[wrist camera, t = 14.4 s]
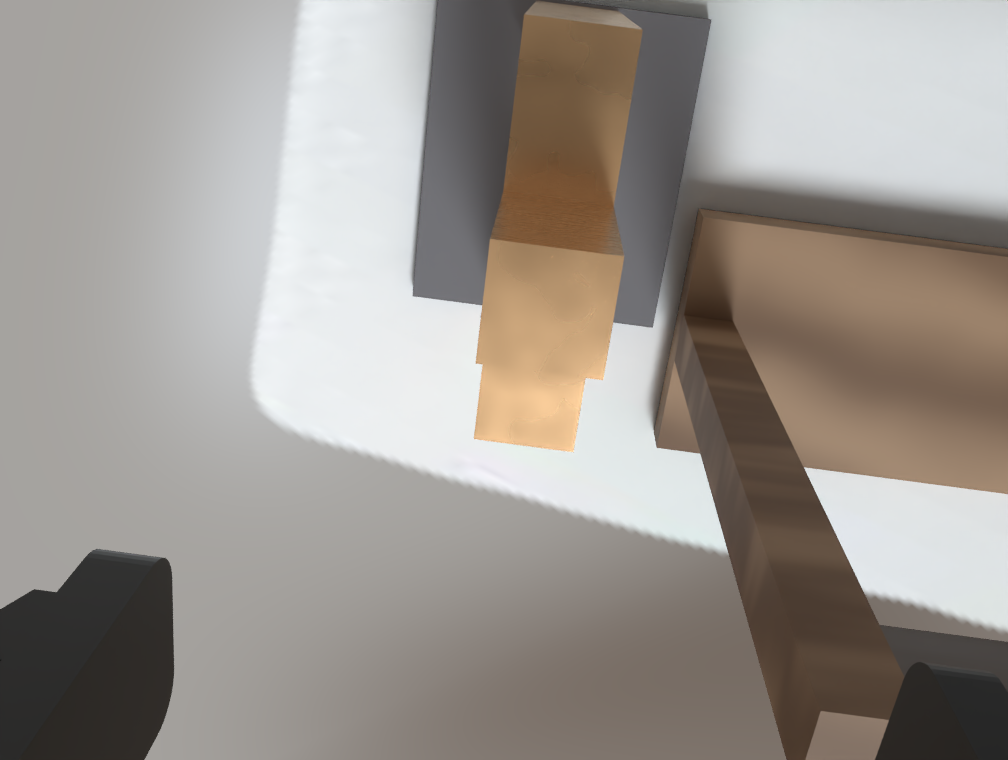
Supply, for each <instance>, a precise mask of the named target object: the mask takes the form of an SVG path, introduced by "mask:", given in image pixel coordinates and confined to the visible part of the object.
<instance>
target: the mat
mask: <svg viewBox="0 0 1008 760" xmlns="http://www.w3.org/2000/svg"><path fill="white" fill-rule="evenodd" d="M536 1H544V2H552V3H560V4H567V5H575V6H583V7H591V8H599V9H606V10H614V11H619V12H620V13H622V14H623V15H624V16H626V17H627V18H628V19H630V20H631V21H632V22H634V23H635V24H636V25H638V26H639V27H640V28H641V29H643V32H642V38H641V44H640V50H639V56H638V62H637V68H636V74H635V80H634V86H633V92H632V98H631V105H630V111H629V117H628V123H627V129H626V135H625V141H624V147H623V153H622V159H621V165H620V171H619V177H618V183H617V189H616V196H615V202H614V209H615V214H616V219H617V224H618V229H619V233H620V238H621V243H622V248H623V252H624V262H623V267H622V273H621V279H620V285H619V290H618V296H617V302H616V308H615V314H614V319H613V322H614V323H622V324H629V325H637V326H645V327H652V328H653V323H654V318H655V313H656V307H657V302H658V297H659V292H660V286H661V281H662V276H663V271H664V265H665V260H666V255H667V250H668V244H669V239H670V234H671V229H672V223H673V218H674V213H675V208H676V202H677V197H678V192H679V187H680V182H681V176H682V171H683V166H684V161H685V155H686V150H687V145H688V140H689V134H690V129H691V124H692V119H693V113H694V108H695V103H696V98H697V92H698V87H699V82H700V77H701V71H702V66H703V61H704V56H705V50H706V45H707V40H708V35H709V29H710V24H711V20H710V19H704V18H696V17H688V16H680V15H673V14H665V13H657V12H649V11H642V10H634V9H626V8H618V7H610V6H603V5H595V4H587V3H579V2H572V1H564V0H438V4H437V16H436V27H435V39H434V51H433V63H432V75H431V86H430V98H429V110H428V122H427V133H426V145H425V157H424V169H423V181H422V192H421V204H420V216H419V228H418V240H417V251H416V263H415V275H414V287H413V296H416V297H424V298H431V299H439V300H447V301H454V302H462V303H469V304H477V305H482V304H483V296H484V287H485V278H486V270H487V261H488V252H489V244H490V237H491V234H492V230H493V226H494V223H495V219H496V216H497V212H498V208H499V205H500V201H501V198H502V194H503V189H504V180H505V172H506V164H507V155H508V147H509V138H510V130H511V121H512V113H513V104H514V96H515V87H516V79H517V71H518V62H519V54H520V45H521V37H522V28H523V20H524V14H525V13H526V12H527V11H528V10H529V8H530V7H531V6H532V5H533V4H534V3H535V2H536Z"/></svg>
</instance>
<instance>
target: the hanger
mask: <svg viewBox="0 0 1008 760" xmlns="http://www.w3.org/2000/svg"><path fill="white" fill-rule="evenodd" d="M642 32H643V29H641V28H640V27H639V26H638V25H636V24H635V23H634V22H632V21H631V20H630V19H628V18H627V17H626V16H624V15H623V14H622V13H620V12H619V11H614V10H606V9H599V8H591V7H583V6H575V5H567V4H560V3H552V2H544V1H536V2H535V3H534V4H533V5H532V6H531V7H530V8H529V10H528V11H527V12H526V13H525V14H524V20H523V28H522V37H521V45H520V54H519V62H518V71H517V79H516V87H515V96H514V104H513V113H512V121H511V130H510V138H509V147H508V155H507V164H506V172H505V180H504V189H503V194H502V198H501V201H500V205H499V208H498V212H497V216H496V219H495V223H494V226H493V230H492V234H491V237H490V244H489V252H488V261H487V270H486V278H485V287H484V296H483V304H482V313H481V322H480V330H479V339H478V348H477V356H476V363H477V364H483V366H482V375H481V383H480V392H479V400H478V409H477V417H476V426H475V434H474V439H478V440H486V441H493V442H501V443H508V444H516V445H523V446H531V447H539V448H546V449H554V450H561V451H569V452H573V450H574V444H575V438H576V432H577V426H578V420H579V414H580V408H581V402H582V396H583V390H584V384H585V378H591V379H599V380H603V377H604V371H605V366H606V360H607V354H608V348H609V343H610V337H611V331H612V325H613V319H614V314H615V308H616V302H617V296H618V290H619V285H620V279H621V273H622V267H623V262H624V252H623V248H622V243H621V238H620V233H619V229H618V224H617V219H616V214H615V209H614V202H615V196H616V189H617V183H618V177H619V171H620V165H621V159H622V153H623V147H624V141H625V135H626V129H627V123H628V117H629V111H630V105H631V98H632V92H633V86H634V80H635V74H636V68H637V62H638V56H639V50H640V44H641V38H642Z"/></svg>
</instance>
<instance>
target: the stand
mask: <svg viewBox="0 0 1008 760" xmlns="http://www.w3.org/2000/svg"><path fill="white" fill-rule="evenodd" d="M654 435H655V441H656V446H657V448H663V449H671V450H678V451H686V452H693V453H700V454H701V457H702V461H703V464H704V468H705V471H706V475H707V478H708V482H709V486H710V489H711V493H712V496H713V500H714V503H715V507H716V510H717V514H718V518H719V521H720V525H721V528H722V532H723V535H724V539H725V542H726V546H727V550H728V553H729V557H730V560H731V564H732V567H733V570H734V574H735V578H736V581H737V585H738V589H739V592H740V596H741V599H742V603H743V606H744V610H745V613H746V617H747V620H748V624H749V628H750V631H751V635H752V638H753V642H754V645H755V649H756V652H757V656H758V660H759V663H760V667H761V670H762V674H763V677H764V681H765V684H766V688H767V692H768V695H769V699H770V702H771V706H772V709H773V713H774V716H775V720H776V724H777V727H778V731H779V734H780V738H781V741H782V745H783V748H784V752H785V756H786V759H787V760H875V758H876V755H877V752H878V750H879V747H880V744H881V741H882V738H883V736H884V733H885V730H886V727H887V724H888V722H889V719H890V716H891V713H892V710H893V708H894V705H895V702H896V699H897V696H898V694H899V691H900V688H901V685H902V682H903V680H904V677H905V675H906V673H907V671H908V669H909V668H910V667H911V666H912V665H913V664H915V663H917V662H924V663H931V664H939V665H946V666H954V667H961V668H968V669H976V670H983V671H989V672H992V673H993V674H995V675H996V676H997V677H998V678H999V679H1000V681H1001V682H1002V684H1003V685H1004V687H1005V689H1006V690H1007V692H1008V642H1004V641H996V640H989V639H981V638H973V637H966V636H959V635H951V634H944V633H936V632H929V631H921V630H914V629H906V628H898V627H891V626H884V625H879V623H878V621H877V619H876V617H875V615H874V613H873V611H872V609H871V607H870V605H869V603H868V600H867V598H866V596H865V594H864V592H863V590H862V588H861V586H860V584H859V582H858V580H857V577H856V575H855V573H854V571H853V569H852V567H851V565H850V563H849V561H848V559H847V557H846V555H845V553H844V550H843V548H842V546H841V544H840V542H839V540H838V538H837V536H836V534H835V532H834V530H833V528H832V526H831V523H830V521H829V519H828V517H827V515H826V513H825V511H824V509H823V507H822V505H821V503H820V501H819V499H818V496H817V494H816V492H815V490H814V488H813V486H812V484H811V482H810V480H809V478H808V476H807V474H806V471H805V469H804V467H807V468H815V469H822V470H830V471H837V472H845V473H852V474H860V475H868V476H875V477H883V478H890V479H898V480H905V481H913V482H921V483H928V484H936V485H943V486H951V487H959V488H966V489H974V490H981V491H989V492H996V493H1004V494H1008V249H1005V248H998V247H990V246H982V245H975V244H967V243H959V242H952V241H944V240H936V239H929V238H921V237H913V236H906V235H898V234H890V233H883V232H875V231H867V230H860V229H852V228H844V227H837V226H829V225H821V224H814V223H806V222H798V221H791V220H783V219H775V218H768V217H760V216H752V215H744V214H737V213H729V212H721V211H714V210H706V209H698V214H697V219H696V224H695V229H694V234H693V239H692V244H691V249H690V254H689V259H688V264H687V269H686V274H685V279H684V284H683V289H682V294H681V299H680V304H679V309H678V314H677V319H676V324H675V329H674V334H673V339H672V344H671V349H670V354H669V359H668V364H667V369H666V374H665V379H664V384H663V389H662V394H661V399H660V404H659V409H658V414H657V419H656V424H655V429H654Z"/></svg>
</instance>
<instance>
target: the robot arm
mask: <svg viewBox="0 0 1008 760" xmlns="http://www.w3.org/2000/svg"><path fill="white" fill-rule="evenodd" d="M172 597H173V596H172V572H171V566H170V563H169V561H168V560H167V559H166V558H160V557H153V556H146V555H138V554H131V553H124V552H116V551H109V550H101V549H96V550H93V551H92V552H90V553H89V554H88V555H87V556H86V557H85V558H84V560H83V561H82V562H81V563H80V565H79V566H78V567H77V568H76V570H75V571H74V572H73V573H72V574H71V575H70V577H69V578H68V579H67V581H66V582H65V583H64V584H63V585H62V587H61V588H60V589H59V590H58V592H49V591H42V590H35V589H34V590H32V591H31V592H29V593H27V594H25V595H24V596H22V597H20V598H19V599H17V600H15V601H14V602H12V603H10V604H9V605H7V606H6V607H4V608H2V609H0V760H144V759H145V758H146V756H147V754H148V751H149V750H150V748H151V746H152V744H153V742H154V741H155V739H156V737H157V735H158V733H159V731H160V729H161V726H162V724H163V722H164V719H165V716H166V713H167V709H168V706H169V702H170V697H171V693H172V687H173V678H174V645H173V601H172V600H173V599H172ZM875 760H1008V692H1007V690H1006V689H1005V687H1004V685H1003V684H1002V682H1001V681H1000V679H999V678H998V677H997V676H996V675H995V674H993V673H992V672H989V671H983V670H976V669H968V668H961V667H954V666H946V665H939V664H931V663H924V662H917V663H915V664H913V665H912V666H911V667H910V668H909V669H908V671H907V673H906V675H905V677H904V680H903V682H902V685H901V688H900V691H899V694H898V696H897V699H896V702H895V705H894V708H893V710H892V713H891V716H890V719H889V722H888V724H887V727H886V730H885V733H884V736H883V738H882V741H881V744H880V747H879V750H878V752H877V755H876V758H875Z"/></svg>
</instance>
